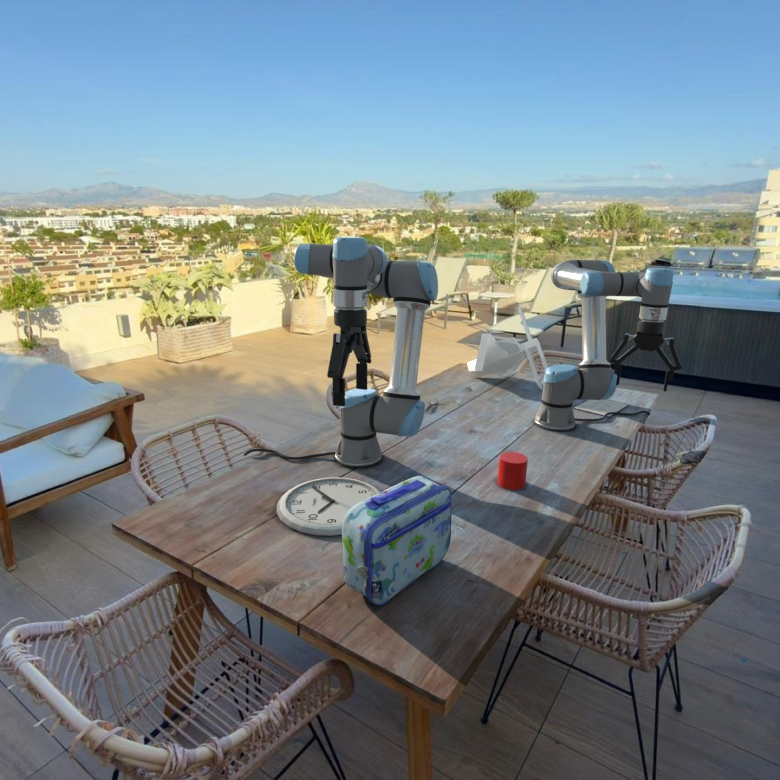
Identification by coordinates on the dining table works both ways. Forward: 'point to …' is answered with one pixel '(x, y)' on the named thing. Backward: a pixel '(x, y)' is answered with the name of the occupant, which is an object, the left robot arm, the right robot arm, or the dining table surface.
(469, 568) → the dining table surface
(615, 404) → the invitation card
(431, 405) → the fork
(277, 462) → the dining table surface
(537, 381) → the white plastic object
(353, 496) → the wall clock
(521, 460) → the canister
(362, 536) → the lunch box
